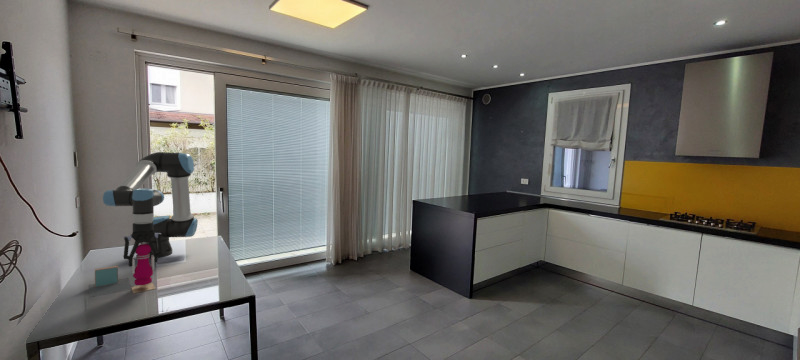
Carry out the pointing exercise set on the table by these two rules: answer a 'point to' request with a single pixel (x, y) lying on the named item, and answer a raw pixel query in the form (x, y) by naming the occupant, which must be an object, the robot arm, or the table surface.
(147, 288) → the cork pad
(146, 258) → the pepper mill
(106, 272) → the tile
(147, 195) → the robot arm
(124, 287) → the mat
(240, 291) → the table surface
